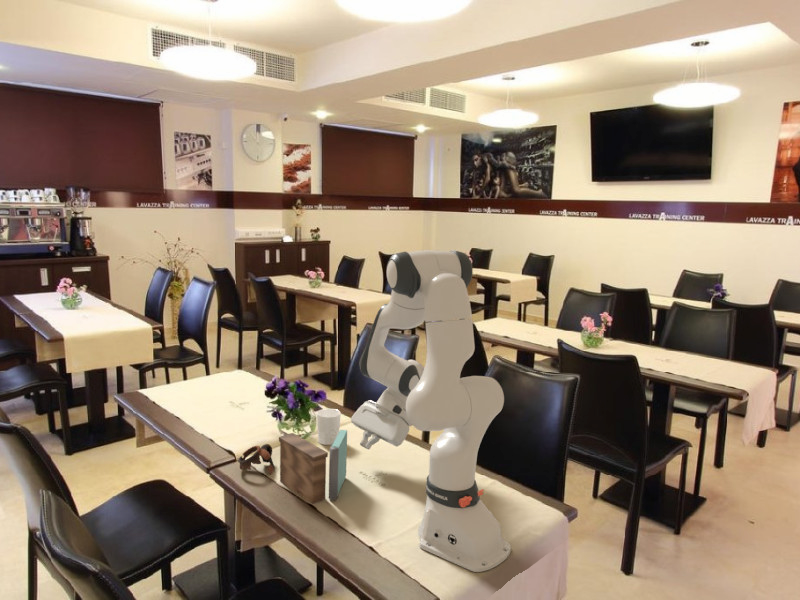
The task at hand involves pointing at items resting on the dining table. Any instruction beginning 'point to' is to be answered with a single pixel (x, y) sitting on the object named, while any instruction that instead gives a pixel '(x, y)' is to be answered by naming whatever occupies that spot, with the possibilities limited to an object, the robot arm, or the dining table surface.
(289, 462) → the wooden board
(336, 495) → the teal square slab
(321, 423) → the white cup
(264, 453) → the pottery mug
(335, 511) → the dining table surface
